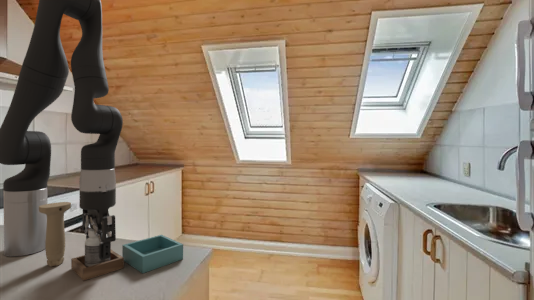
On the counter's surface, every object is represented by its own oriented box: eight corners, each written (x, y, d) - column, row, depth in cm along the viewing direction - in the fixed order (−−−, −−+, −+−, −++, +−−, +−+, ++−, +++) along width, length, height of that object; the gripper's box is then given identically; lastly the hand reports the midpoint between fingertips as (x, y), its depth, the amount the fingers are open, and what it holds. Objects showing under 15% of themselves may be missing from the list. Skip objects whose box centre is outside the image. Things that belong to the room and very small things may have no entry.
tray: (122, 259, 73) (122, 244, 73) (161, 248, 82) (161, 234, 81) (142, 273, 66) (142, 256, 66) (183, 259, 75) (183, 244, 74)
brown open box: (71, 268, 68) (71, 258, 67) (109, 257, 74) (109, 248, 74) (83, 280, 62) (83, 269, 62) (123, 267, 69) (123, 257, 69)
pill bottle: (111, 270, 67) (111, 230, 67) (84, 275, 64) (84, 233, 64) (109, 261, 72) (109, 224, 72) (84, 266, 69) (84, 227, 69)
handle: (35, 266, 68) (35, 206, 68) (64, 257, 74) (64, 201, 73) (45, 271, 66) (45, 208, 65) (74, 261, 72) (74, 203, 71)
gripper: (70, 185, 69) (70, 250, 70) (91, 193, 60) (91, 267, 61) (103, 182, 75) (103, 242, 75) (127, 189, 66) (126, 257, 66)
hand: (98, 253), depth 68 cm, fingers open, 8 cm apart
